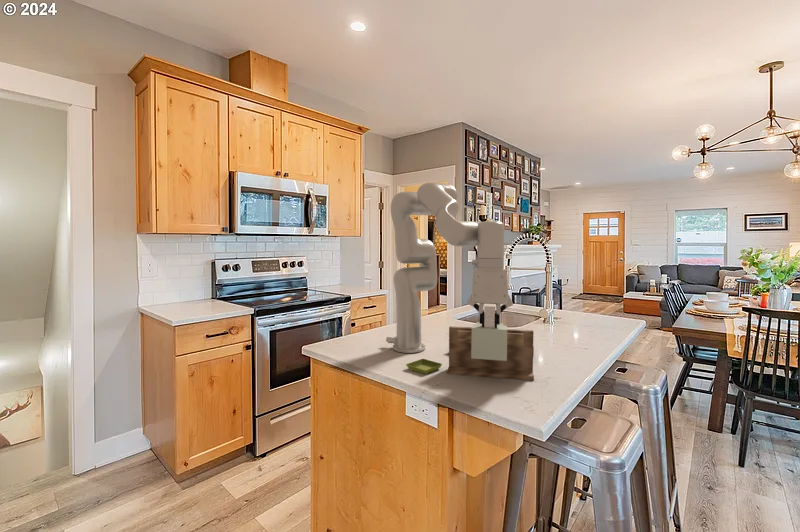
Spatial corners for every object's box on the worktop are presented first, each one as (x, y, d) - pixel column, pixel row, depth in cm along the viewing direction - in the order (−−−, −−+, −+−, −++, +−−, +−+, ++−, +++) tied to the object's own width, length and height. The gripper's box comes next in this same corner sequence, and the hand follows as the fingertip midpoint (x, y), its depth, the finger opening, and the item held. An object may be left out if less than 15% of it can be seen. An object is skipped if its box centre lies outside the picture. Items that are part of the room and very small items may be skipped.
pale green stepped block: (471, 358, 116) (471, 307, 115) (473, 350, 124) (473, 302, 123) (506, 360, 114) (507, 309, 112) (506, 352, 122) (507, 303, 121)
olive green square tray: (425, 376, 124) (425, 370, 124) (405, 370, 130) (405, 364, 130) (442, 370, 130) (442, 364, 130) (422, 364, 137) (422, 358, 136)
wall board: (447, 373, 126) (447, 330, 125) (449, 368, 131) (449, 326, 130) (533, 380, 120) (534, 334, 119) (532, 374, 125) (533, 330, 124)
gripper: (460, 264, 114) (460, 328, 115) (520, 265, 110) (519, 331, 111) (463, 263, 121) (462, 322, 122) (519, 263, 117) (517, 325, 118)
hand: (489, 326), depth 117 cm, fingers closed on pale green stepped block, 3 cm apart
